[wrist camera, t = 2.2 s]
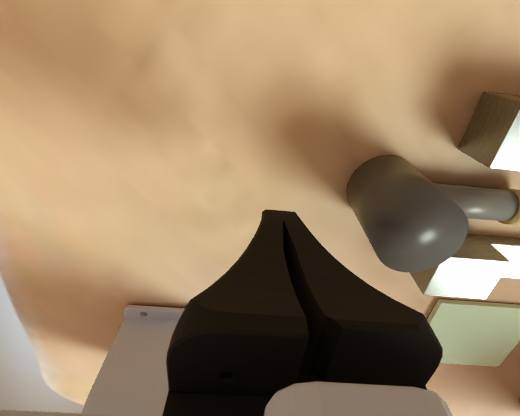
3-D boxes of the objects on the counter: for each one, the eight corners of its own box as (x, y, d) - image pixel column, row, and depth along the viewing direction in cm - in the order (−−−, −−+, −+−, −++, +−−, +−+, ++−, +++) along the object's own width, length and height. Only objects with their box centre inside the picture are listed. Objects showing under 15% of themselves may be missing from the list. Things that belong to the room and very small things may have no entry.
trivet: (406, 357, 26) (408, 361, 26) (438, 298, 22) (441, 303, 22) (495, 362, 26) (498, 366, 26) (540, 306, 23) (545, 310, 23)
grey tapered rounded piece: (339, 214, 19) (364, 268, 14) (356, 152, 17) (391, 194, 12) (491, 226, 19) (558, 283, 15) (525, 168, 17) (614, 214, 13)
